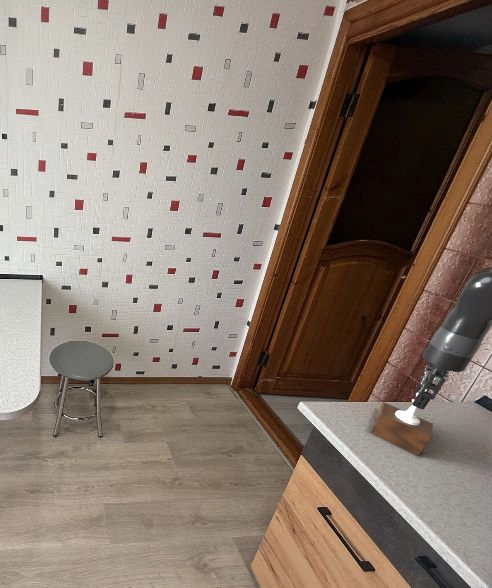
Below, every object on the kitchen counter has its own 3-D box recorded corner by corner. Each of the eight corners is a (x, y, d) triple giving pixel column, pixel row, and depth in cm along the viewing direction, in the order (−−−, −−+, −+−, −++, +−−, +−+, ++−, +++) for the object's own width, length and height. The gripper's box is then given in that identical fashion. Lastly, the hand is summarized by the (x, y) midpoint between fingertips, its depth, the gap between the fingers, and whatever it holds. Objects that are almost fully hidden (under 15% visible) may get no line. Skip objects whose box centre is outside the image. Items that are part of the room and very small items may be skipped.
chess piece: (393, 416, 89) (411, 387, 85) (396, 409, 92) (414, 380, 88) (418, 428, 86) (438, 398, 82) (420, 420, 89) (439, 390, 85)
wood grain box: (421, 430, 95) (434, 411, 92) (417, 456, 86) (431, 436, 83) (377, 410, 102) (388, 392, 99) (370, 432, 93) (381, 413, 90)
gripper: (475, 365, 73) (437, 421, 79) (473, 345, 82) (439, 396, 88) (429, 350, 78) (396, 403, 84) (431, 332, 87) (402, 382, 93)
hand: (418, 399), depth 86 cm, fingers open, 8 cm apart
